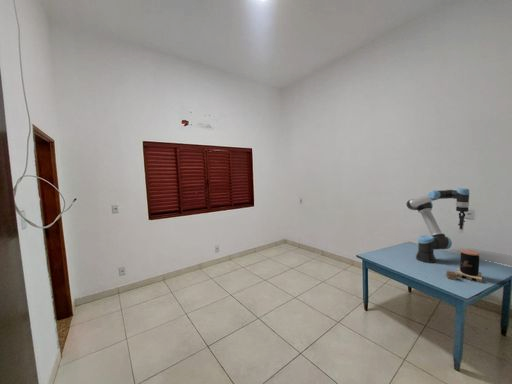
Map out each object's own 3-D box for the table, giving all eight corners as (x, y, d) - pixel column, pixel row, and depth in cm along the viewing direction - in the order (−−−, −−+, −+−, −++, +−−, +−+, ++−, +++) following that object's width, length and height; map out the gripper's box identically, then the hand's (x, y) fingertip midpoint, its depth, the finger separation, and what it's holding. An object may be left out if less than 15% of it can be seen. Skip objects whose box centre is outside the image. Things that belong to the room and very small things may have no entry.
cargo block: (446, 276, 173) (446, 270, 172) (454, 277, 170) (454, 271, 170) (448, 279, 168) (448, 273, 168) (456, 280, 166) (456, 274, 165)
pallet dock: (457, 270, 180) (457, 267, 180) (481, 276, 170) (481, 272, 170) (456, 277, 171) (456, 273, 170) (481, 283, 160) (482, 279, 160)
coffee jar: (456, 270, 176) (457, 249, 174) (469, 269, 175) (470, 249, 174) (468, 276, 165) (469, 254, 163) (482, 276, 165) (483, 254, 163)
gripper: (456, 204, 189) (455, 227, 191) (455, 208, 172) (454, 233, 174) (468, 204, 184) (467, 228, 186) (468, 209, 166) (467, 235, 168)
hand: (461, 230), depth 180 cm, fingers open, 13 cm apart
